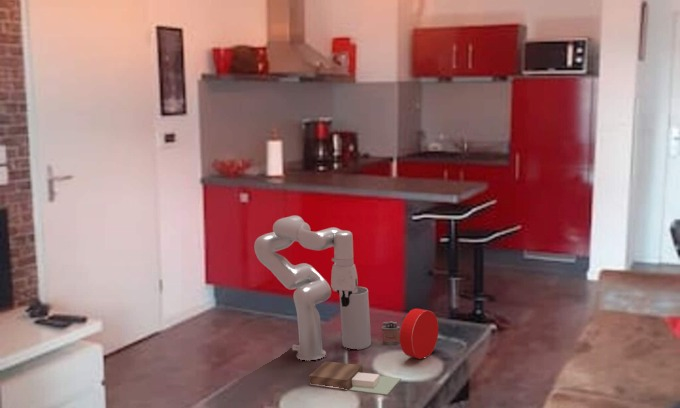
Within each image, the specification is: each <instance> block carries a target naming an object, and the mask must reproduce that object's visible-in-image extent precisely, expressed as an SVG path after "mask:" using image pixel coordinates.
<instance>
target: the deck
mask: <svg viewBox="0 0 680 408" xmlns="http://www.w3.org/2000/svg"><path fill="white" fill-rule="evenodd" d="M358 372H360V373H364V372H363V365H362V364H353V363H345V362H344V363H343V362H338V361H337V362H335V361H327V360H325V361H324V362H323V363H322V364H321V365H319V366H318V367H317V368H316V369H315V370H314V371H313V372H312V373H310V374H309V375H308V378H309V384H310V383H311V384H319V385H325V386H333V387H339V388H344V389H347V390H346V391H348V390H350V389H351V388H352V387H353V386H352V378H353V377H354V376H355V375H356V374H357V373H358Z"/></svg>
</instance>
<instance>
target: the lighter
mask: <svg viewBox="0 0 680 408" xmlns="http://www.w3.org/2000/svg"><path fill="white" fill-rule="evenodd" d="M400 331H401V326H399V325H398V323H397V321H392V320H391V321H384V322H382V326H381V335H382V336H381V337H382V341H381V342H382V343H381V344H382V345H384V346H396V345H401V344H400Z"/></svg>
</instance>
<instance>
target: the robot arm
mask: <svg viewBox="0 0 680 408" xmlns="http://www.w3.org/2000/svg"><path fill="white" fill-rule="evenodd" d="M295 242H298V244H299V245H301V246H302V247H303V248H304V249H308V250H312V251H324V250H326V249H328V248H333V250H334V251H333V253H334V257H332V258H331V262H334V264H332V269H331V277H330V284H329V282H328V281H327V279H325V278H324V277H323V276H322V275H321V273H320V272H318V271H317V270H316V269H315V267H313V266H312V265H311V264H308V263H306V262H305V263H304V262H303V263H302V262H301V263H299V264H296V265H295V264H292V263H291V262H290V261H289V260H288V259H287V258H286V257H285V256H283V255H281V254H279V253H277V252H278V251H281V250H284V249H287V248H289V247H290V246H292V245H293V243H295ZM253 246H254V247H253V249H254V253H255V255H256V258H257V259H258V261H259V262H260V263H261V264H262V265H263V266H264V267H266V268H267V269H268V270H269V271H271V273H272V274H273V275H274V277H276V279H277V280H278V281H279V282H280V283H281V284H282V285H283V286H284V287H285V288H286V289H288V290H294V292H293V302H294V306H295V310H296V317H297V328H298V342H299V344H292V347H291V348H292V352H297V353H296V358H297V360H299V359H300V360H299V361H302V360H305V361H304V362H311V361H310V360H316V361H318V360H317V359H320V360H322V359H324V358H325V357H326V356H327V352H326V350H324V349H323V343H322V342H323V341H322V327H321V326H322V325H321V316H320V312H319V311H318V309H317V307H316V305H318V304H321V303H323V302H325V301H327V300H328V299H330V297H331V295H332V291H333V292H337V294H338V296H339V298H340V297H341V303H342V306H343V307H344V306H345V307H347V306H348V305H349V303H350V297H349V296H350V295H351V294H352V293H357V292H358V290H357V287H359V285H358V284H359V283H358V282H359V281H358V272H357V268H356V264H355V263H354V240H353V232H351V231H350V230H343V229H340V228H338V227H328V228H325V229H321V230H318V231H311V227H310V225H309V224H308V223H307V222H305V221H304V219H303V218H302V217H301V216H299V215H290V216H287V217H281V218H279V219H277V220H276V221H275V222H274V223H273V226H272V231H271V232H268V233H263V235H260V236H258V237H257V238H256V239H255V242H254V245H253ZM345 291H346V292H345ZM325 355H326V356H325ZM323 357H324V358H323ZM321 358H322V359H321ZM306 360H307V361H306ZM308 360H309V361H308Z"/></svg>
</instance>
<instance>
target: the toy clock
mask: <svg viewBox="0 0 680 408" xmlns="http://www.w3.org/2000/svg"><path fill="white" fill-rule="evenodd" d="M438 339H439V323H438V318H437V316H436V314H435V313H434V312H433V311H431V310H428V309H423V308H422V309H421V308H413V309H411V310H409V312H408V313H407V314H406V315H405V317H404V319H403V321H402V324H401V326H400V344H399V345H400V348H401V350H402V352H403V353H404V355H406V356H408V357H410V358H415V359H420V360H422V359H421V358H424V357H427V356H428V357H430V355H431V354H432V353H433V352H434V349H435V348H436V346H437V342H438ZM428 357H427V358H428Z"/></svg>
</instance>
